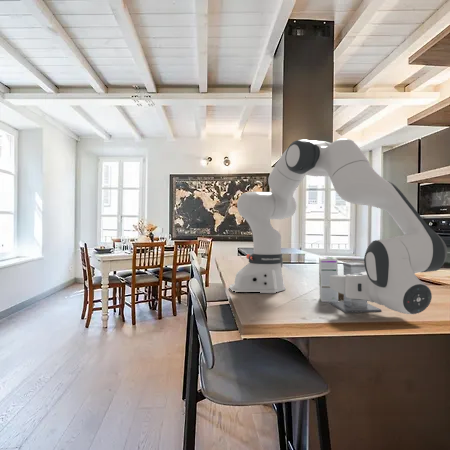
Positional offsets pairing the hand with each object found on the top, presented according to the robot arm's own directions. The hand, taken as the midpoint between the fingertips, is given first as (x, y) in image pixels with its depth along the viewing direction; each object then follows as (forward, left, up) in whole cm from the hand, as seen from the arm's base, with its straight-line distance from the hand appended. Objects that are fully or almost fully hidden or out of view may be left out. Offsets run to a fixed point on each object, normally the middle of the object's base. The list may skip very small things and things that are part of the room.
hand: (352, 278), depth 101 cm
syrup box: (-4, +9, -9) cm, 14 cm away
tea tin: (0, -1, -8) cm, 9 cm away
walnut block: (+3, +12, -9) cm, 15 cm away
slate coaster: (0, -1, -9) cm, 9 cm away
